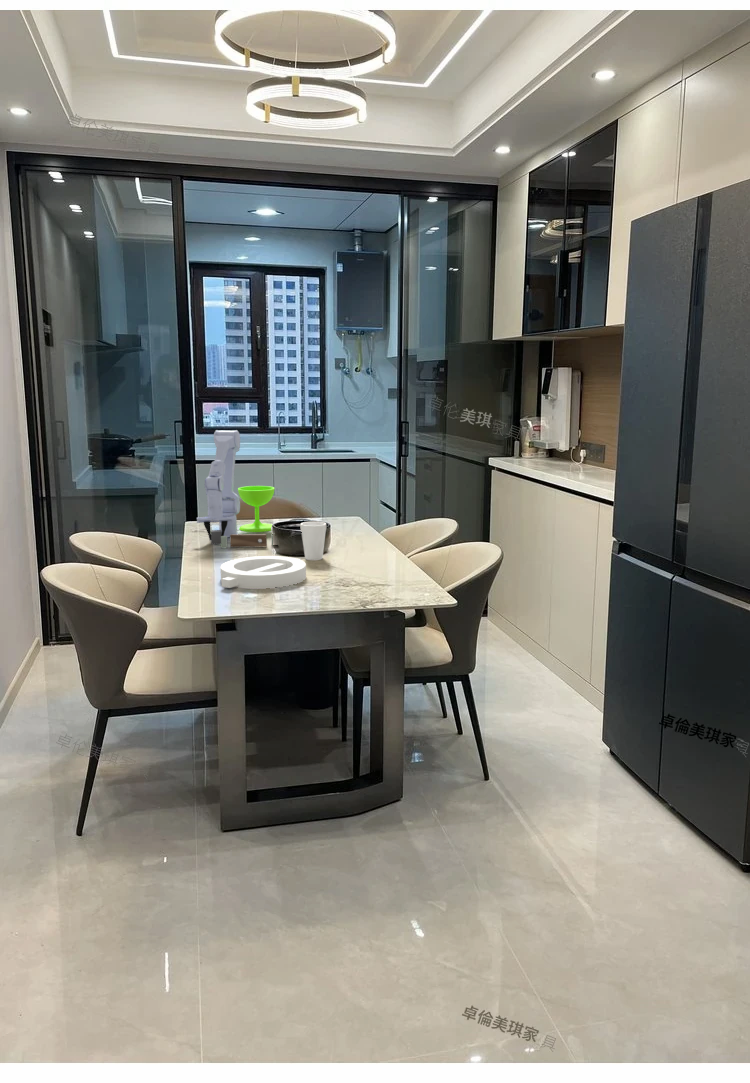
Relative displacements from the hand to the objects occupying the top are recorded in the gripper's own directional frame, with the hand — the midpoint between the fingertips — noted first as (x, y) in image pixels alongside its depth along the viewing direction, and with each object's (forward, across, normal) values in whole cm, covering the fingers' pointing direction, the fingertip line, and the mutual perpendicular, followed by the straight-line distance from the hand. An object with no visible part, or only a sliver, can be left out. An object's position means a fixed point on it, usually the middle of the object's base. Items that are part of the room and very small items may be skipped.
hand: (216, 539), depth 319 cm
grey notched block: (+1, 0, +2) cm, 2 cm away
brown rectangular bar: (+1, +12, -11) cm, 16 cm away
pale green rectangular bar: (+1, +13, -9) cm, 16 cm away
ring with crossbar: (+2, +15, -61) cm, 63 cm away
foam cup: (+2, +35, -35) cm, 50 cm away
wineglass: (+2, +18, +29) cm, 34 cm away
